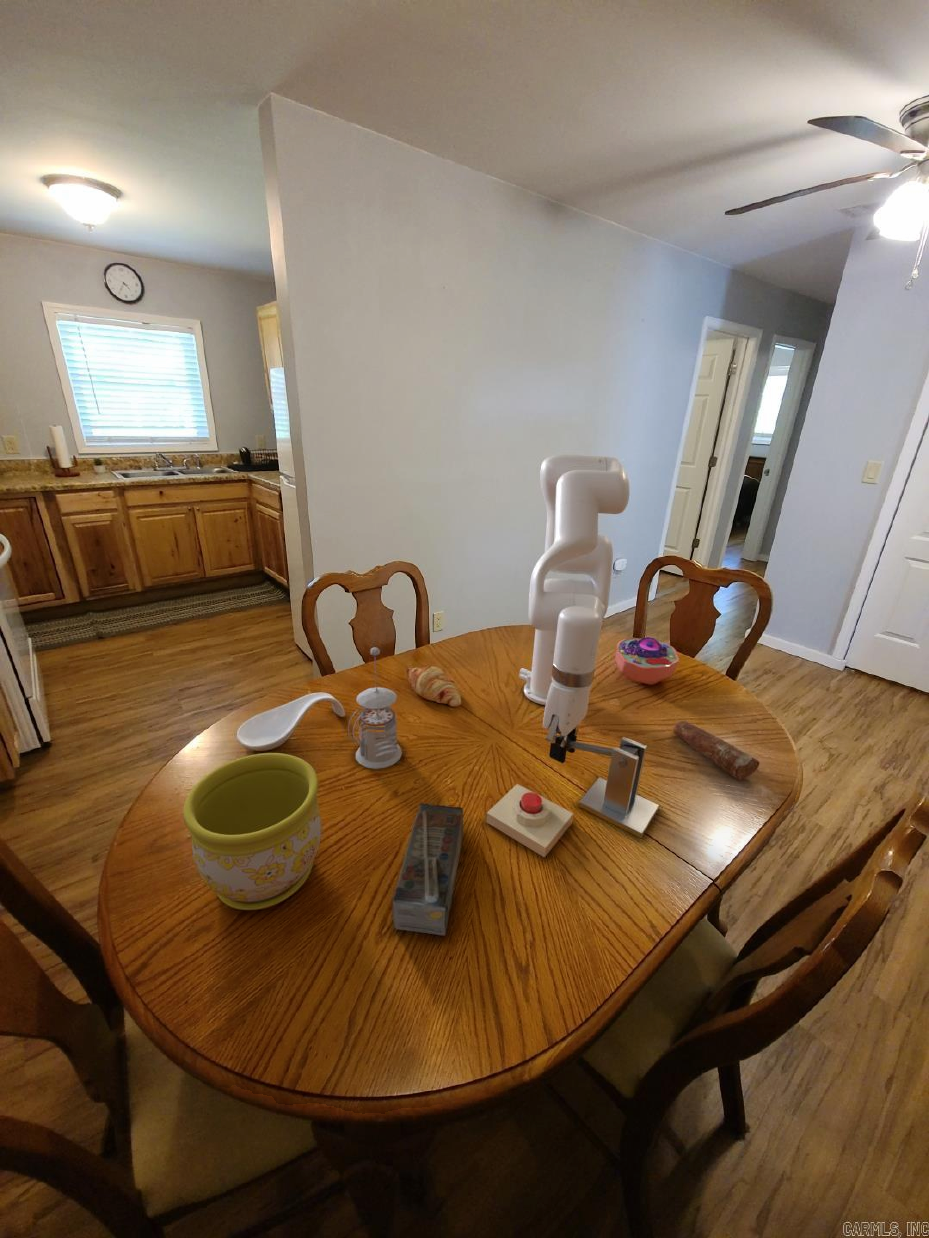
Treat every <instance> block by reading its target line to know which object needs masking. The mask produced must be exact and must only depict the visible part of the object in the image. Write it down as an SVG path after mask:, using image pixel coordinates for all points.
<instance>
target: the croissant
mask: <svg viewBox="0 0 929 1238" xmlns="http://www.w3.org/2000/svg"><path fill="white" fill-rule="evenodd" d="M406 675H407V680H408V681H407V682H408V683H409V685H410V686H411V689H412V690H413V691H414V692H415V694H416V695H418V696H420V697H421V698H422V699H424V700H427V701H431V702H436V703H438V704H444V705H446V704H447V705H448V706H450V707H459V706H461V704H462V696H461V694H460V692H459V690H458V689H459V688H458V687H457V685H456V683H455V681H453V680H451V679H450V677H449V675H448V674H447V673H446V671H445V670H444V669H442V668H440V667H438V666H434V665H429V666H427V667H426V666H425V667H424V666H423V667H417V666H416V667H411V666H409V667H407V668H406Z"/></svg>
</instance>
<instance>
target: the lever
mask: <svg viewBox="0 0 929 1238" xmlns="http://www.w3.org/2000/svg"><path fill="white" fill-rule="evenodd" d="M557 737H560V738H561V739H562V736H561V735H560V734H558V736H557ZM565 745H567V750H569V749H570V748H573V749H575V750H578V751H583V752H587V753H593V754H598V755H602V756H607V757H611V756H612V751H613V748H611V747H606V746H605V747H604V746H599V745H595V744H590V743H585V742H580V741H576V742H575V741H571V739H570V737H569V736H567V739H566V744H565ZM621 750H624V751H626V752H628V753H631V754H633V755H635V756H638V749H636V748H631V747H626V746H622V747H621ZM638 761H639V760H638Z"/></svg>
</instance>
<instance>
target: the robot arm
mask: <svg viewBox="0 0 929 1238" xmlns="http://www.w3.org/2000/svg"><path fill="white" fill-rule="evenodd" d="M540 465H541V466H540V472H539V478H540V481H539V482H540V488H541V493H542V496H543V500H544V504H545V508H546V528H545V529H546V530H545V539H544V540H545V542H544V553H543V554H542V555H541V557H540V558H539V559H538V560H537V562H536V564H535V565H534V567H533V570H532V573H531V575H530V582H529V592H528V593H529V595H528V612H527V613H528V621H529V623H530V626H532V628H534V629H535V630H534V631H535V632H534V641H533V651H532V652H533V653H532V660H531V661H532V664H531V670H529V669H526V668H523V667H521V668H519V669H520V670H519V675H518V679H520V680H521V681H525V684H524V686H523V693H524V696H525V697H526V698H527V699H529V700H530V701H531V702H533V703H536V704H539V705H541V706H544V710H543V711H544V713H543V718H542V728H543V729H544V730H548V732H547V735H546V737H545V741H547V742H548V743H550V747H549V754H548V755H549V758H551V759H552V760H555V761H557V762H559V763H561V764H564V763H565V762H566V757H567V752H568V753H570V754H574V753H575V751H576V749H573V748H570V749H569V750H567V745H565V744H566V739H567V736H569V737H570V739H571V741H575V742H577V738H578V736H577V735H578V733H579V728H580V723H581V722H582V721H583V720H584V719H585V717H586V716H587V713H588V710H589V704H590V703H589V702H590V694H591V687H592V686H593V683H594V679H595V678H594V677H595V671H596V664H597V658H598V652H599V644H600V637H601V632H602V625H603V623H604V621H605V616H606V614H607V611H608V608H609V600H610V592H611V581H612V570H613V561H614V560H613V558H614V549H613V544H612V541H611V540H610V539H609V538H608V537H606V536H605V535H600V534H599V514H603V515H604V514H606V515H607V514H608V515H619V514H622V513H624V512H625V510H626V509H627V506H628V504H629V500H630V492H631V491H630V482H629V478H628V474H627V472H626V470H625V468H624V467H623V465H622V463H621V461H620V460H619V459H618V458H615V457H611V456H599V455H598V456H597V455H578V454H558V455H557V454H556V455H551V456H549V457H547V458H545V459H544V460H543V461H542V463H541V464H540ZM549 572H553V573H559V574H570V575H587V576H589V578H590V580H587V579H574V578H558V577H556V578H555V577H553V578H546V576H547V575H548V573H549ZM557 735H561V736H562V739H561V738H560V737H558V736H557Z"/></svg>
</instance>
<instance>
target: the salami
mask: <svg viewBox="0 0 929 1238" xmlns="http://www.w3.org/2000/svg"><path fill="white" fill-rule="evenodd" d="M673 733H674V734H675V735H676V736H677V737H679V738H680V739H681V740H683V741H684V742H685V743H686V744H688V745H689V746H691V747H692V748H693V749H694V750H696V751H697V752H699V753H700V754H701V755H703V756H704V757H706V759H708V760H710V761H711V762H712V763H714V764H715V765H717V766H718V767H719V768H721V769H722V770H723V771H724V772H725V773H727V774H729V775H730V776H731V777H733V778H734V779H736V780H737V781H742V780H743V778H747V777H749V776H751V775H752V774H753V773H755V772H756V771H757V770H758V768H759V766H760V761H759V760H758V759H756V758H755V757H753V756H752V755H751V754H750V753H749V754H748V753H747V752H746V751H743V750H742V749H739V748H738V747H736V746H734V745H732V744H731V743H729V742H727V741H725V740H724V739H721V738H720V737H717V736H715V735H713V734H712V733H710V732H709V731H706V730H705V729H703V728H700V727H698V726H697V725H694V724H692V723H691V722H688V721H686V720H680V721H678V722H677V723H676V724H675V726H674V727H673Z"/></svg>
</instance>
